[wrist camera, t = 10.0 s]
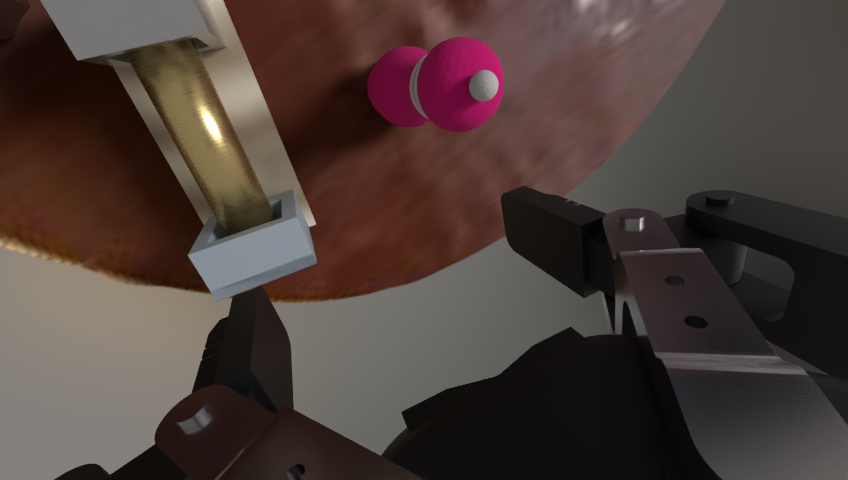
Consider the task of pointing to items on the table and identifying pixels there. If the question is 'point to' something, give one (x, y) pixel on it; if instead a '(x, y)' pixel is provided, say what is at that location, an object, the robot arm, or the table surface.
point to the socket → (254, 250)
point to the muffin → (11, 16)
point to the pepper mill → (438, 85)
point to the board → (244, 113)
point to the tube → (203, 133)
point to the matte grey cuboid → (131, 26)
